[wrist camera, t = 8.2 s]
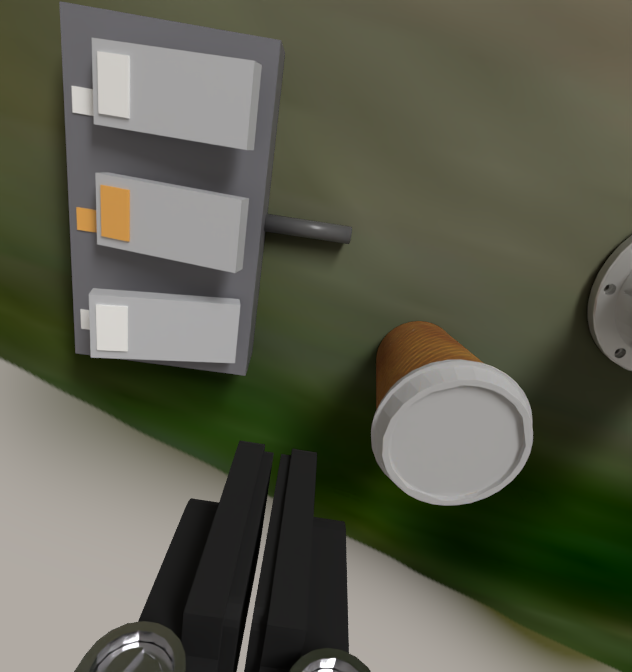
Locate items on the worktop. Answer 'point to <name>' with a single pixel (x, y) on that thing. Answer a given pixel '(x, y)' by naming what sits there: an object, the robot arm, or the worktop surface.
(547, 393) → the worktop surface
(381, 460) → the disposable coffee cup
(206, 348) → the block
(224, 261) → the block
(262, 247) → the rocker switch panel
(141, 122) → the block
